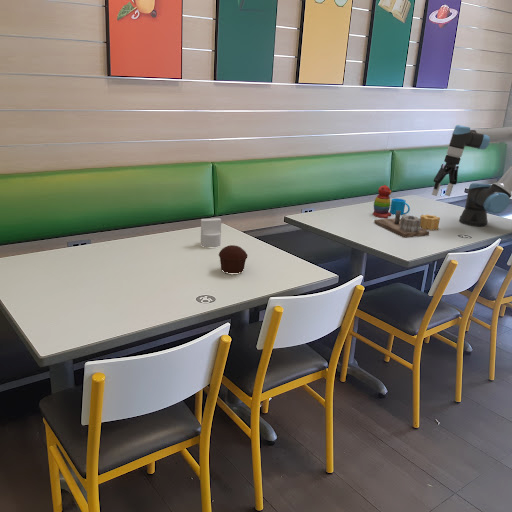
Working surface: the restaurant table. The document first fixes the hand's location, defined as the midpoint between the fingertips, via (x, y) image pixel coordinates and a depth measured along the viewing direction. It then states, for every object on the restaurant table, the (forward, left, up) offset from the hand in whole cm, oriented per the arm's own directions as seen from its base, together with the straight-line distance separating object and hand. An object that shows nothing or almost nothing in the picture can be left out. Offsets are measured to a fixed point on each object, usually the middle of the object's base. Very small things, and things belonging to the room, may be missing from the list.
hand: (440, 195), depth 270 cm
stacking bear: (+14, -30, -19) cm, 38 cm away
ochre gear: (+2, -3, -19) cm, 19 cm away
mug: (0, -31, -19) cm, 37 cm away
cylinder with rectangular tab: (+127, -3, -19) cm, 128 cm away
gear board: (+20, -4, -19) cm, 27 cm away
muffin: (+128, +29, -19) cm, 132 cm away
